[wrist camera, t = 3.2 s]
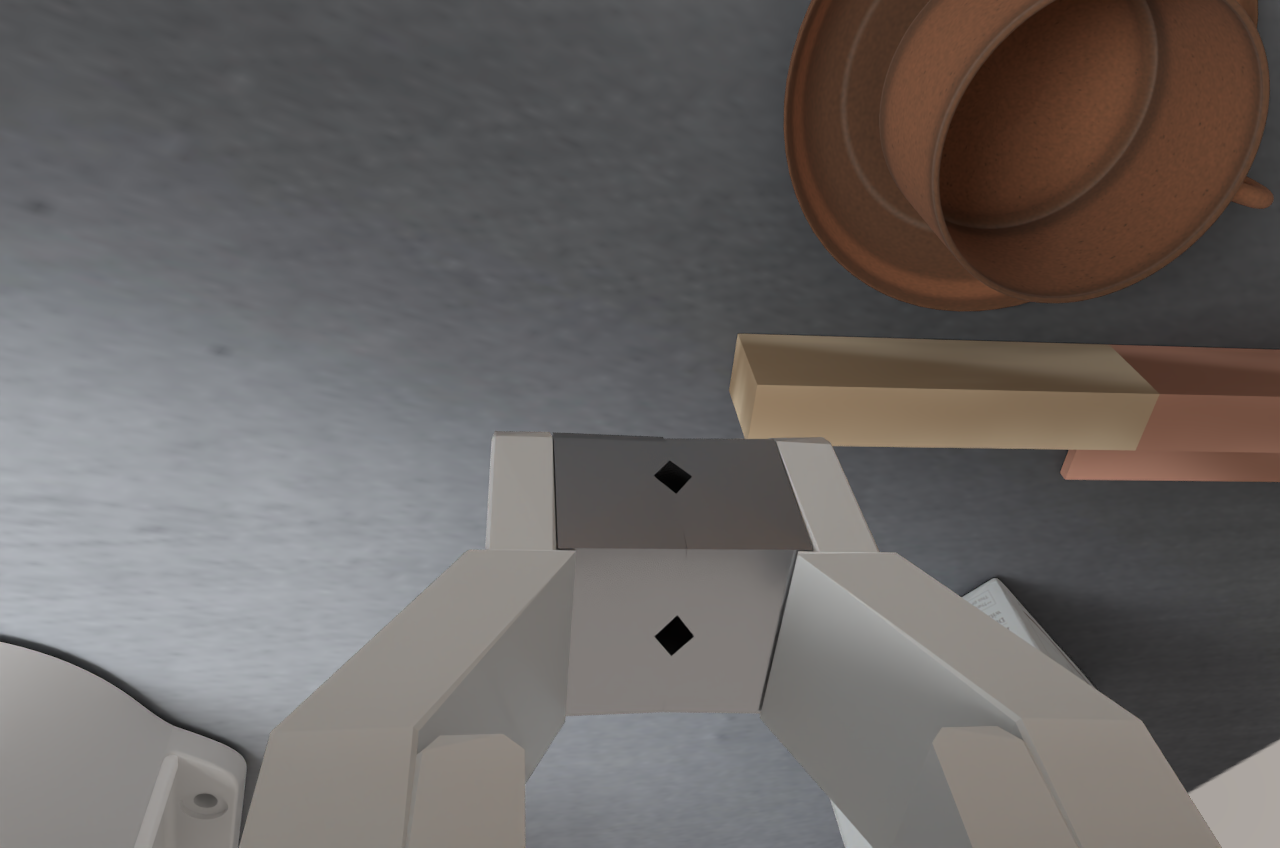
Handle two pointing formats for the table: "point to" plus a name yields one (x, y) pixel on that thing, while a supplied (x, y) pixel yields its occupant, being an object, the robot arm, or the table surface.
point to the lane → (1023, 401)
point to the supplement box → (1016, 619)
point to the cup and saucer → (1021, 140)
